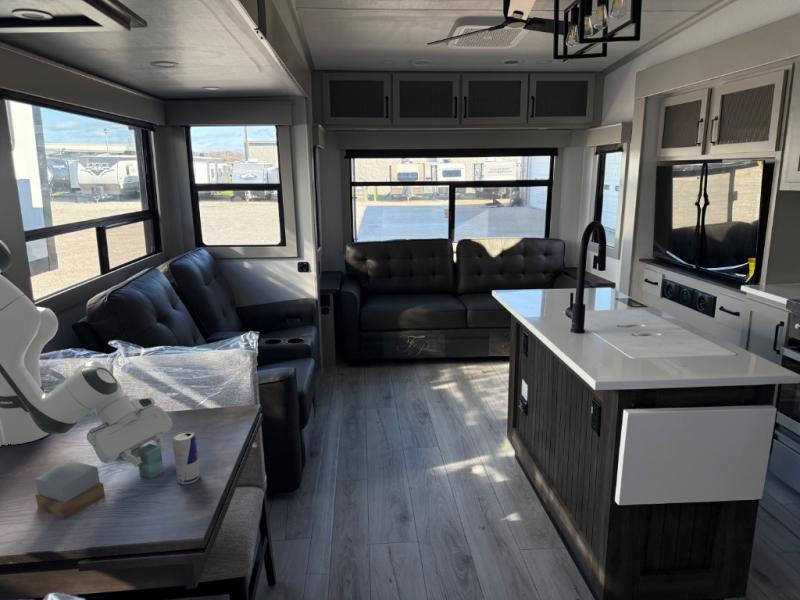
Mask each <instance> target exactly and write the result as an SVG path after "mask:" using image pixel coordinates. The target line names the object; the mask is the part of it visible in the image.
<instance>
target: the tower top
mask: <svg viewBox="0 0 800 600" xmlns="http://www.w3.org/2000/svg"><path fill="white" fill-rule="evenodd" d="M99 482H101V481H100V476H99V469H98V467H97V466H95V465H91V464H88V463H83V462H79V461H75V460H73V459H72V460H69V461H67V462H65V463H63V464H61V465H59V466H57V467H56V468H53V469H51V470H49V471H48V472H46V473H43V474H42V475H40V476H38V477H36V478H35V483H36V490H37V493H38V494H39V495H42V496H46V497H49V498H52V499H55V500H59V501H62V502H67V501H68V500H70V499H72V498H74V497H75V496H77V495H79V494H80V493H82V492H84V491H86V490H87V489H89V488H91V487H92V486H94V485H96V484H98V483H99Z"/></svg>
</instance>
